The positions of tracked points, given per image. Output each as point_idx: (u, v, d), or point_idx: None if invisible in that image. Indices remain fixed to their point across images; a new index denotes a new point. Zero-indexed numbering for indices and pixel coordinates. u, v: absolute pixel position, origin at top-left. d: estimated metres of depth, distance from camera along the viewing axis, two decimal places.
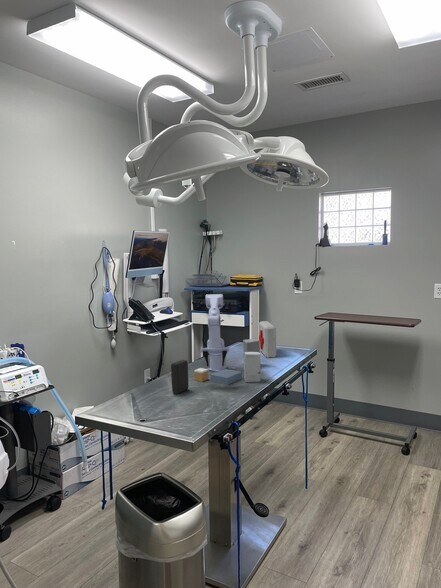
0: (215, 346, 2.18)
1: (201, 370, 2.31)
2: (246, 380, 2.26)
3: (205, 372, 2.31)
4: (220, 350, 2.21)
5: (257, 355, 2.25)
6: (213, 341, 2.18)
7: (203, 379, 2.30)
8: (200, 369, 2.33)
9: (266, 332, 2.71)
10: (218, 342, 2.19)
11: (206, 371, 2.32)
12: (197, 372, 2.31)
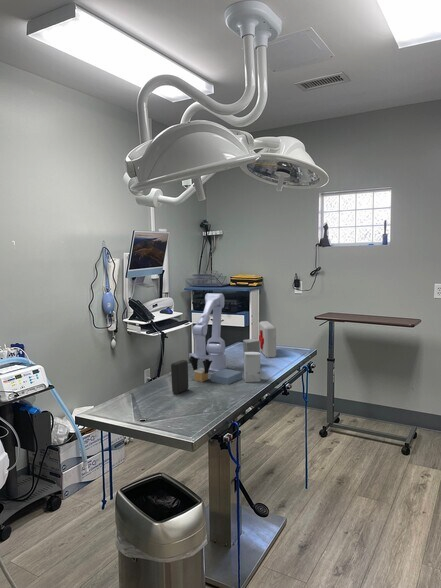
0: (197, 354, 2.29)
1: (201, 370, 2.31)
2: (246, 380, 2.26)
3: None
4: (204, 358, 2.30)
5: (257, 355, 2.25)
6: (196, 349, 2.29)
7: (203, 379, 2.30)
8: (200, 369, 2.33)
9: (266, 332, 2.71)
10: (200, 351, 2.28)
11: None
12: (197, 372, 2.31)
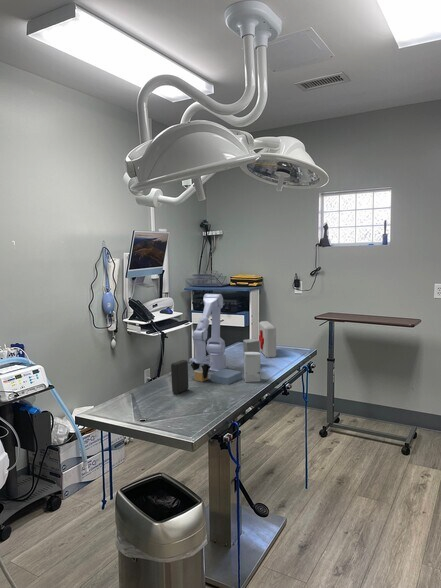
0: (197, 359, 2.29)
1: (201, 370, 2.31)
2: (246, 380, 2.26)
3: None
4: None
5: (257, 355, 2.25)
6: (196, 354, 2.29)
7: (203, 379, 2.30)
8: (200, 369, 2.33)
9: (266, 332, 2.71)
10: (201, 356, 2.29)
11: None
12: (197, 372, 2.31)
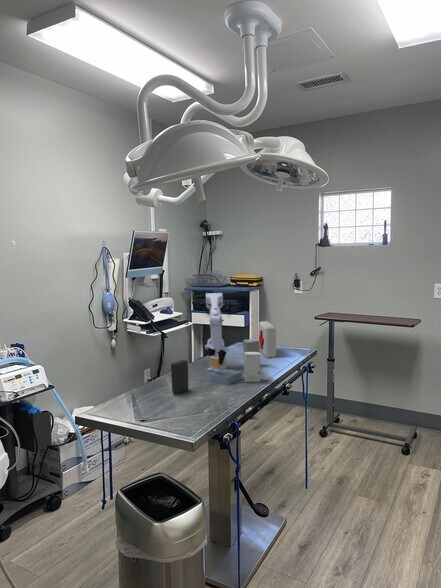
0: (213, 345, 2.27)
1: (217, 356, 2.30)
2: (246, 380, 2.26)
3: None
4: None
5: (257, 355, 2.25)
6: (212, 340, 2.28)
7: (219, 365, 2.29)
8: (216, 355, 2.31)
9: (266, 332, 2.71)
10: (217, 342, 2.27)
11: None
12: (213, 358, 2.29)
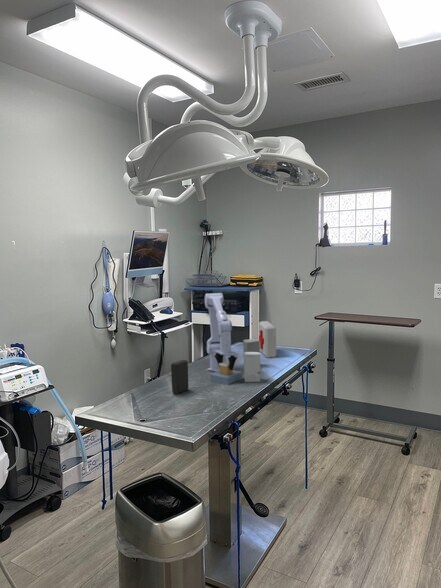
0: (223, 351, 2.27)
1: (226, 363, 2.30)
2: (246, 380, 2.26)
3: None
4: None
5: (257, 355, 2.25)
6: (221, 346, 2.28)
7: (228, 372, 2.28)
8: (225, 362, 2.31)
9: (266, 332, 2.71)
10: (226, 347, 2.27)
11: None
12: (222, 365, 2.29)
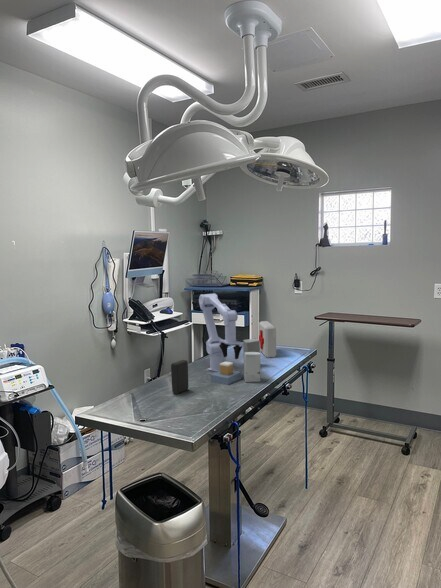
0: (228, 340, 2.32)
1: (227, 363, 2.30)
2: (246, 380, 2.26)
3: (231, 365, 2.30)
4: None
5: (257, 355, 2.25)
6: (226, 335, 2.33)
7: (229, 372, 2.28)
8: (225, 362, 2.31)
9: (266, 332, 2.71)
10: (231, 337, 2.32)
11: (231, 364, 2.30)
12: (223, 365, 2.29)
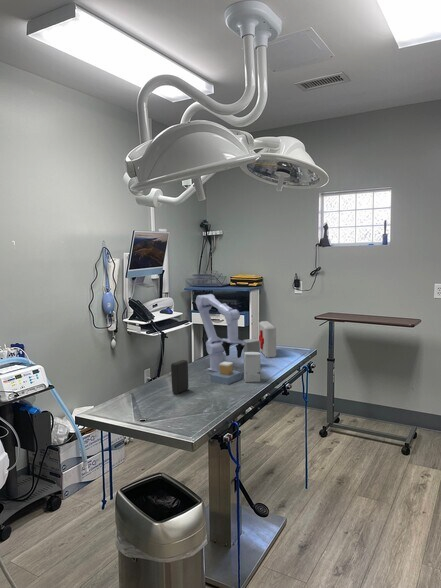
0: (230, 339, 2.35)
1: (227, 363, 2.30)
2: (246, 380, 2.26)
3: (230, 365, 2.30)
4: None
5: (257, 355, 2.25)
6: (229, 334, 2.35)
7: (229, 372, 2.29)
8: (225, 362, 2.31)
9: (266, 332, 2.71)
10: (233, 335, 2.34)
11: (231, 364, 2.31)
12: (223, 365, 2.29)
